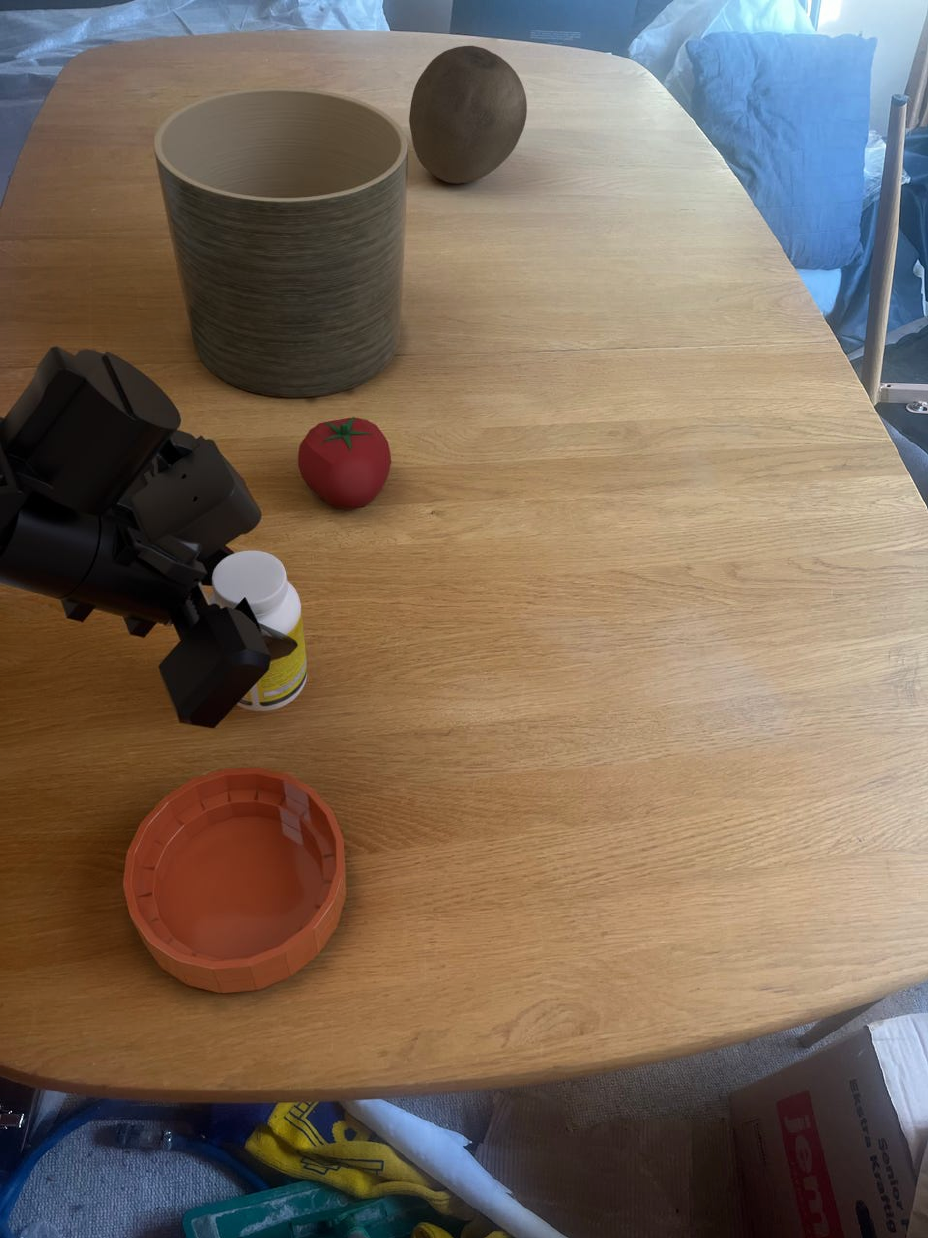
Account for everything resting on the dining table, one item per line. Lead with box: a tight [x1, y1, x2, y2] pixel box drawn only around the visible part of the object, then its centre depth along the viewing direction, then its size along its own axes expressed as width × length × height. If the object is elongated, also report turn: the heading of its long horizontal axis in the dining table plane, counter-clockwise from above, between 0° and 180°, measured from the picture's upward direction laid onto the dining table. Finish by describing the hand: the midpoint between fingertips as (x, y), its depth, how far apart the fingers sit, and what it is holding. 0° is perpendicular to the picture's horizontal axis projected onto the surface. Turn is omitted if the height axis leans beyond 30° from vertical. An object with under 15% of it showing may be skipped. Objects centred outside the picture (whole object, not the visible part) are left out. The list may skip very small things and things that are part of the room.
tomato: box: [297, 416, 392, 510], centre depth 83 cm, size 8×8×7 cm
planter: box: [152, 86, 409, 398], centre depth 93 cm, size 22×22×20 cm
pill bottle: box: [208, 549, 308, 712], centre depth 65 cm, size 6×6×11 cm
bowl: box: [122, 766, 347, 994], centre depth 60 cm, size 13×13×4 cm
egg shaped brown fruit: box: [408, 45, 528, 184], centre depth 119 cm, size 14×14×15 cm
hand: (275, 614), depth 65 cm, fingers closed on pill bottle, 6 cm apart
